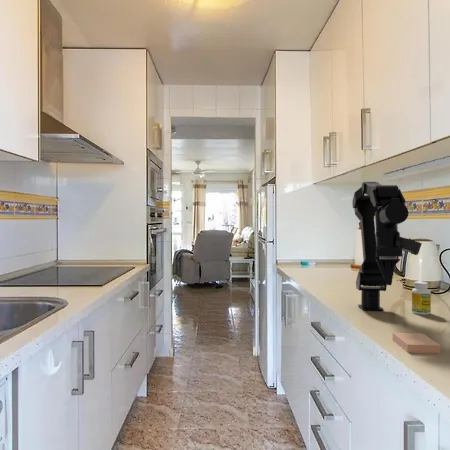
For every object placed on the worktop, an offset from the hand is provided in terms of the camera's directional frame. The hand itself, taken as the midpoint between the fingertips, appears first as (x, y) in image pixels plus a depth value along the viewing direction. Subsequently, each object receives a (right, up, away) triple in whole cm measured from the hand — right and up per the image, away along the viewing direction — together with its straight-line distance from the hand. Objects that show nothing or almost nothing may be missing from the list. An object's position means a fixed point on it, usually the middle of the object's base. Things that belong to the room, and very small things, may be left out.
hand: (389, 285), depth 109 cm
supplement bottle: (+16, -11, +15) cm, 25 cm away
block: (-1, -11, -14) cm, 17 cm away
